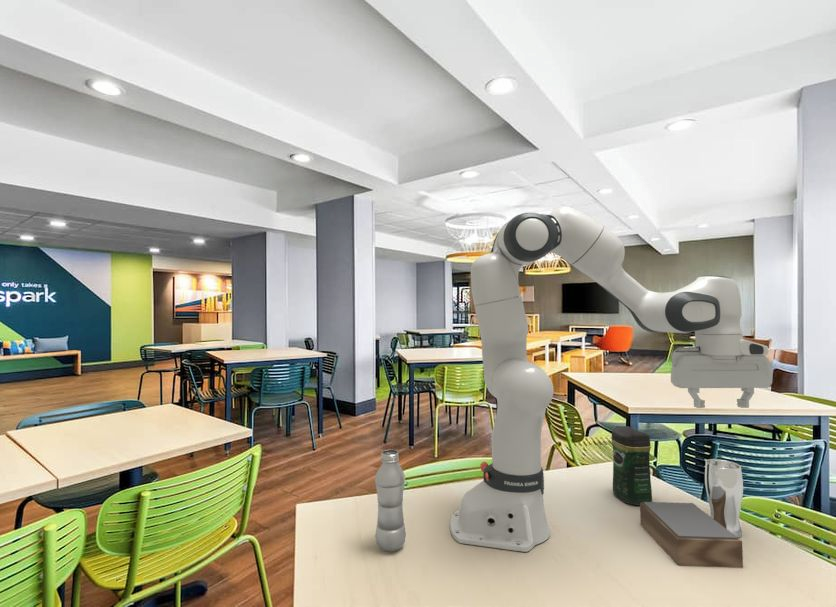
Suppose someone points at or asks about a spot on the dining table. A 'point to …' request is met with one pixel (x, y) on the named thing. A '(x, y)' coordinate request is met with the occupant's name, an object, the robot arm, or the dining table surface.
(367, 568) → the dining table surface
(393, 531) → the plastic bottle
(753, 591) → the dining table surface
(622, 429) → the coffee jar
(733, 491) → the beer glass
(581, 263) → the robot arm
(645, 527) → the walnut plinth
